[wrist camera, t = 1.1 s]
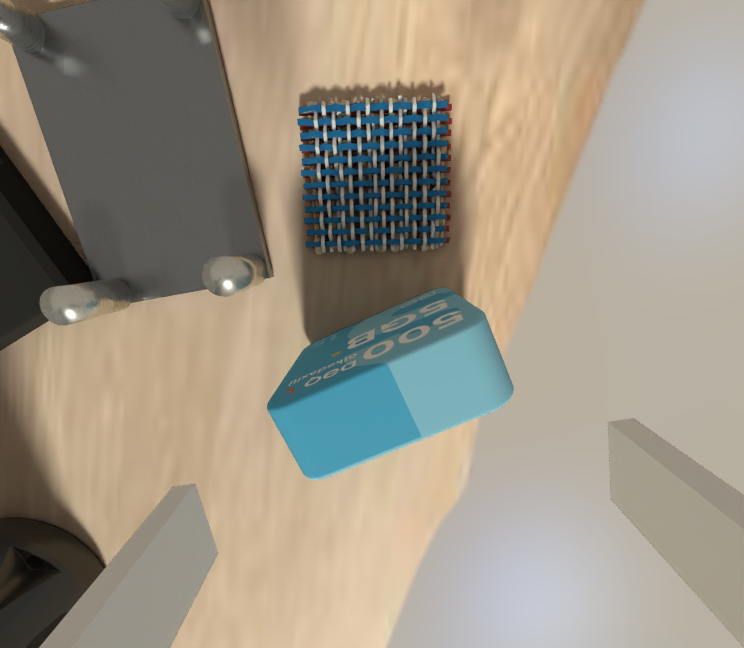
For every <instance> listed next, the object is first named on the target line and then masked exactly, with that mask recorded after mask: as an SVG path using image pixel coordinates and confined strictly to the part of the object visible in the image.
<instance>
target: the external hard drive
mask: <svg viewBox="0 0 744 648" xmlns="http://www.w3.org/2000/svg"><path fill="white" fill-rule="evenodd" d="M92 281H94V280H93V277H92V274H91V271H90V269H89V268H88V266H87V265H86V264H85V262H84V261H83V259H82V258H81V257H80V255H79V254H78V253H77V251H76V250H75V248H74V247H73V246H72V244H71V243H70V241H69V240H68V239H67V237H66V236H65V235H64V233H63V232H62V230H61V229H60V228H59V226H58V225H57V223H56V222H55V221H54V219H53V218H52V217H51V215H50V214H49V212H48V211H47V210H46V208H45V207H44V205H43V204H42V203H41V201H40V200H39V199H38V197H37V196H36V194H35V193H34V192H33V190H32V189H31V187H30V186H29V185H28V183H27V182H26V181H25V179H24V178H23V176H22V175H21V174H20V172H19V171H18V169H17V168H16V167H15V165H14V164H13V163H12V161H11V160H10V158H9V157H8V156H7V154H6V153H5V151H4V150H3V149H2V147H1V146H0V351H1V350H2V349H4V348H5V347H7V346H9V345H10V344H12V343H13V342H15V341H17V340H18V339H20V338H22V337H23V336H25V335H26V334H28V333H30V332H31V331H33V330H34V329H36V328H38V327H39V326H41V325H43V324H44V323H46V322H47V321H49V320H48V319H47V318H46V317H45V316H44V314H43V313H42V311H41V308H40V297H41V295H42V293H43V292H44V291H45V290H46V289H48V288H51V287H57V286H64V285H71V284H78V283H85V282H92Z"/></svg>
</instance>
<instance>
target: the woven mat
mask: <svg viewBox="0 0 744 648" xmlns="http://www.w3.org/2000/svg"><path fill="white" fill-rule="evenodd" d="M440 97H441V96H437V98H436V96H435V94H434V93H433V92H432V101H430V98H427V97H424V96H423V97H422V99H421V101H420V102H417V103H416V97H413V98H412V99H407V97H404V99H403V102H402V95H399V96H398V100H396V99H395V98H392V97H391V98H389V100H388V103H387V102H383V99H380V103H376V104H374V102H375V99H374V98H371V104H370V98H366V104H364V103H360V100H356V104H352V105H350V104H349V101H348V100H344V99H342V100H341V103H340V102H337V104H335V101H331V102H328V103H327V106H325V102H324V101H322V106H321V105H317V101H315V102H313V101H312V100H311V101H309V102H306V106H305V107H299V108H298V109H299V116H307V117H308V119H297V120H298V125H299V126H300V130H304V129H308V132H307V133H301V134H300V137H301V141H309V145H299V148H300V151H302V153H310V158H307V159H302V165H303V166H310V170H301V176H303V178H310V179H311V183H304V189H312V195H303V200H305V201H313V207H305V211H306V213H309V212H313V217H314V218H304V221H305V224H314V230H307V236H311V235H315V236H314V242H306V247H315V252H316V254H318V255H322V254H323V253H325V252H326V249H325V247H330V252H333V248H334V249H338V251H339V252H342V249H341V246H343V250H344V251H347V252H348V254H352V253H354V251H355V246H360V245H361V248H362V251H365V249H367V248H368V246H369V245H370V251H371V252H372V251H374V245H375V250H376V252H384V251H386V245H391V248H390V251H392V252H394V253H396V252H398V251H399V247H400V250H404V248H408V247H413V249H414V250H417V249H416V244H420V245H421V249H422V252H424V251H428V249H429V248H430V246H429V244H431V250H434V243H435V248H438V246H443V243H449V238H444V231H449V226H445V220H451V215H446V214H445V209H444V208H450V203H446V202H444V197H451V191H449V192H447V191H445V190H444V185H450V180H448V178H444V173H450V169H451V167H447V166H444V161H451V155H448V153H446V150H449V149H451V144H448V141H446V138H445V136H451V130H447V126H446V127H445V124H452V118H448V115H445V111H451V109H452V104H448V101H447V100H445V101H444V99H442V98H440ZM384 113H388V116H385V117H384ZM416 113H417V114H420V115H416ZM430 113H432V115H430ZM365 114H366V117H365ZM354 115H357V118H352V117H350V116H354ZM318 116H322V117H323V118H320V119H318ZM335 116H337V119H335ZM416 125H420V128H419V129H417V127H416ZM429 125H432V128H430V127H429ZM350 127H357V129H356V130H353V131H350ZM365 127H366V128H367V131H365ZM384 127H388V129H384ZM402 127H403V128H402ZM319 128H323V132H321V131H319ZM336 128H337V130H336ZM370 128H372V130H370ZM429 137H431V141H429ZM435 137H436V140H435ZM388 138H389V141H388V142H384V139H388ZM417 138H420V141H416V139H417ZM366 139H367V143H366ZM371 139H372V142H371ZM398 139H399V142H398ZM336 140H338V145H337V142H336ZM351 140H357V144H355V143H351ZM403 140H404V142H403ZM319 141H324V144H320V145H319ZM398 150H399V155H398ZM403 150H404V154H403ZM416 150H420V154H418V155H416ZM429 150H431V154H429ZM435 150H437V151H436V154H435ZM371 151H373V156H371ZM384 151H389V155H387V154H386V155H384ZM351 152H358V156H354V157H351ZM320 154H325V157H320ZM337 154H339V156H338V155H337ZM367 154H368V156H367ZM416 162H420V166H416ZM429 162H431V166H429ZM435 162H436V164H435ZM385 163H389V167H388V168H385ZM402 163H404V168H402ZM372 164H373V168H372ZM321 165H325V168H326V169H322V170H320V168H321ZM338 165H339V170H338ZM352 165H356V166H358V169H353V168H352ZM367 165H368V168H367ZM416 174H420V179H416ZM429 174H431V175H432V177H433V179H430V176H429ZM403 175H404V179H402V176H403ZM353 176H358V180H359V181H353V182H352V177H353ZM367 176H368V181H367ZM372 176H373V179H374V181H372ZM385 176H389V180H387V179H386V180H385ZM339 177H340V181H339ZM321 178H326V182H322V179H321ZM416 186H417V187H420V191H416ZM431 186H435V187H434V188H433V189H432V191H429V189H430V187H431ZM385 187H389V192H385ZM398 187H399V192H398ZM403 187H404V189H405V192H402V189H403ZM356 188H359V193H353V189H356ZM368 188H369V193H368ZM372 188H374V193H372ZM322 189H326V190H327V194H322ZM339 189H340V191H339ZM428 197H431V203H428ZM402 198H405V202H404V204H403V200H402ZM416 198H420V203H416ZM386 199H390V204H385V200H386ZM398 199H399V204H398ZM340 200H341V205H340ZM353 200H359V205H354V206H353ZM368 200H369V205H368ZM373 200H374V205H373ZM322 201H327V206H323V202H322ZM428 209H431V215H428ZM385 210H390V216H386V212H385ZM398 210H399V214H398ZM403 210H405V215H403ZM416 210H420V215H416ZM354 211H360V217H354ZM368 211H369V217H368ZM373 211H374V216H373ZM324 212H328V218H327V217H326V218H323V215H324ZM340 212H341V216H340ZM403 221H405V227H403ZM416 221H420V227H417V225H416ZM428 221H431V226H428ZM434 221H435V223H434ZM373 222H374V224H375V228H373ZM386 222H390V228H386ZM341 223H342V229H341ZM354 223H360V228H359V229H354ZM324 224H329V227H328V230H325V228H324ZM399 224H400V227H399ZM417 232H420V238H419V239H416V235H417ZM428 232H431V237H430V238H428ZM386 233H390V239H386ZM399 233H400V237H399ZM403 233H405V239H404V235H403ZM355 234H360V240H355ZM373 234H375V240H373ZM434 234H435V238H434ZM325 235H329V241H325ZM341 235H343V241H341Z"/></svg>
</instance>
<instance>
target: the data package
mask: <svg viewBox="0 0 744 648" xmlns="http://www.w3.org/2000/svg"><path fill="white" fill-rule="evenodd" d="M513 390H514V389H513V384H512V382H511V379H510V377H509V374H508V372H507V369H506V366H505V364H504V361H503V359H502V356H501V354H500V351H499V349H498V346H497V344H496V341H495V338H494V336H493V333H492V331H491V328H490V326H489V323H488V321H487V318H486V316H485V313H484V312H483V311H481V310H480V309H478V308H477V307H475V306H474V305H472V304H471V303H469V302H468V301H466V300H465V299H463V298H462V297H460V296H459V295H457V294H456V293H454V292H453V291H451V290H450V289H448V288H446V287H442V288H437V289H434V290H431V291H428V292H426V293H423V294H421V295H419V296H416V297H414V298H412V299H410V300H407V301H405V302H403V303H401V304H398V305H396V306H394V307H392V308H389V309H387V310H385V311H383V312H380V313H378V314H376V315H374V316H371V317H369V318H367V319H365V320H362V321H360V322H358V323H356V324H353V325H351V326H349V327H347V328H344V329H342V330H340V331H338V332H335V333H333V334H331V335H329V336H326V337H324V338H322V339H320V340H318V341H316V342H314V343H312V344H311V345H309V346H308V347H306V348H305V349H304V350H303V351H302V352H301V354H300V355H299V357H298V358H297V360H296V361H295V363H294V364H293V366H292V367H291V369H290V370H289V372H288V373H287V375H286V376H285V378H284V379H283V381H282V382H281V384H280V385H279V387H278V388H277V390H276V391H275V393H274V394H273V396H272V397H271V399H270V400H269V402H268V404H267V410H268V412H269V413H270V415H271V417H272V419H273V421H274V422H275V424H276V426H277V428H278V429H279V431H280V433H281V435H282V437H283V438H284V440H285V442H286V444H287V446H288V447H289V449H290V451H291V453H292V454H293V456H294V458H295V460H296V462H297V463H298V465H299V467H300V469H301V470H302V472H303V474H304V475H305V476H306V477H307V478H309V479H313V480H319V479H324V478H327V477H330V476H332V475H335V474H337V473H340V472H342V471H345V470H347V469H350V468H352V467H355V466H357V465H360V464H362V463H365V462H367V461H370V460H372V459H375V458H377V457H380V456H382V455H385V454H387V453H390V452H392V451H395V450H398V449H400V448H403V447H405V446H408V445H410V444H413V443H415V442H418V441H420V440H423V439H425V438H428V437H430V436H433V435H435V434H438V433H440V432H443V431H445V430H448V429H450V428H453V427H455V426H458V425H460V424H463V423H465V422H468V421H470V420H473V419H475V418H478V417H480V416H483V415H485V414H488V413H490V412H493V411H495V410H497V409H498V408H500V407H502V406H503V405H504V404H505V403H506V402H508V400H509V399H510V398H511V396H512V394H513Z"/></svg>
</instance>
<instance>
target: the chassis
mask: <svg viewBox="0 0 744 648" xmlns="http://www.w3.org/2000/svg"><path fill="white" fill-rule="evenodd" d="M0 38H1V39H3V40H5V41H6V42H8V43H10V44H12V47H13V50H14V53H15V55H16V58H17V61H18V64H19V67H20V70H21V73H22V76H23V78H24V81H25V84H26V87H27V90H28V93H29V96H30V99H31V101H32V104H33V107H34V110H35V113H36V116H37V119H38V122H39V125H40V127H41V130H42V133H43V136H44V139H45V142H46V145H47V148H48V150H49V153H50V156H51V159H52V162H53V165H54V168H55V171H56V173H57V176H58V179H59V182H60V185H61V188H62V191H63V194H64V196H65V199H66V202H67V205H68V208H69V211H70V214H71V217H72V219H73V222H74V225H75V228H76V231H77V234H78V237H79V240H80V242H81V245H82V248H83V251H84V254H85V257H86V260H87V263H88V265H89V268H90V271H91V274H92V277H93V280H94V281H92V282H85V283H78V284H71V285H64V286H57V287H51V288H48V289H46V290H45V291H44V292H43V293H42V295H41V297H40V308H41V311H42V313H43V314H44V316H45V317H46V318H47V319H48V320H50V321H51V322H53V323H55V324H58V325H68V324H72V323H76V322H79V321H83V320H87V319H90V318H94V317H98V316H101V315H105V314H109V313H112V312H116V311H120V310H123V309H125V308H127V307H128V306H129V305H130V303H133V302H138V301H144V300H149V299H155V298H161V297H166V296H172V295H177V294H183V293H188V292H194V291H199V290H205V289H208V290H209V291H210V292H212V293H213V294H215V295H218V296H230V295H233V294H235V293H238V292H241V291H243V290H246V289H249V288H251V287H254V286H257V285H259V284H260V283H262V282H263V280H264V279H266V278H271V277H274V276H273V272H272V268H271V264H270V259H269V255H268V251H267V247H266V243H265V238H264V234H263V230H262V226H261V222H260V217H259V213H258V209H257V205H256V200H255V196H254V192H253V188H252V184H251V179H250V175H249V171H248V167H247V163H246V158H245V154H244V150H243V146H242V141H241V137H240V133H239V129H238V125H237V120H236V116H235V112H234V108H233V104H232V99H231V95H230V91H229V87H228V82H227V78H226V74H225V70H224V66H223V61H222V57H221V53H220V49H219V45H218V40H217V36H216V32H215V28H214V23H213V19H212V15H211V11H210V7H209V2H208V0H96V1H91V2H87V3H83V4H78V5H74V6H69V7H65V8H60V9H56V10H51V11H47V12H43V13H38V14H35V13H33V12H32V11H30V10H29V9H27V8H26V7H24V6H23V5H21V4H20V3H18V2H17V1H15V0H0Z"/></svg>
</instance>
